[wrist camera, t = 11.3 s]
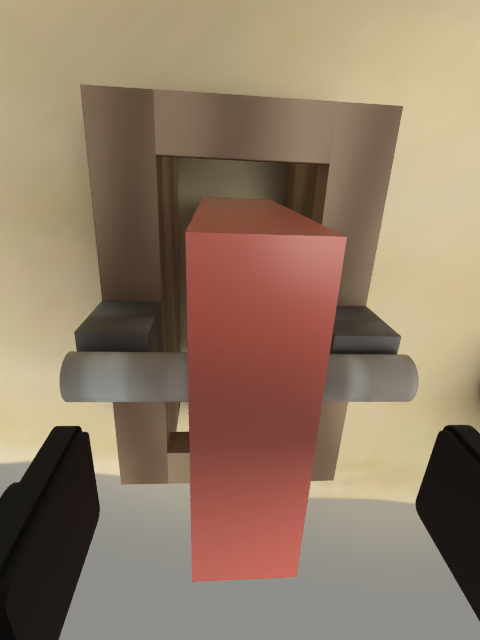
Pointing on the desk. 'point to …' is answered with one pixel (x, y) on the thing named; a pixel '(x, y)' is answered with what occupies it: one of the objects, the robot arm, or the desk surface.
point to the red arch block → (255, 380)
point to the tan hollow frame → (163, 254)
